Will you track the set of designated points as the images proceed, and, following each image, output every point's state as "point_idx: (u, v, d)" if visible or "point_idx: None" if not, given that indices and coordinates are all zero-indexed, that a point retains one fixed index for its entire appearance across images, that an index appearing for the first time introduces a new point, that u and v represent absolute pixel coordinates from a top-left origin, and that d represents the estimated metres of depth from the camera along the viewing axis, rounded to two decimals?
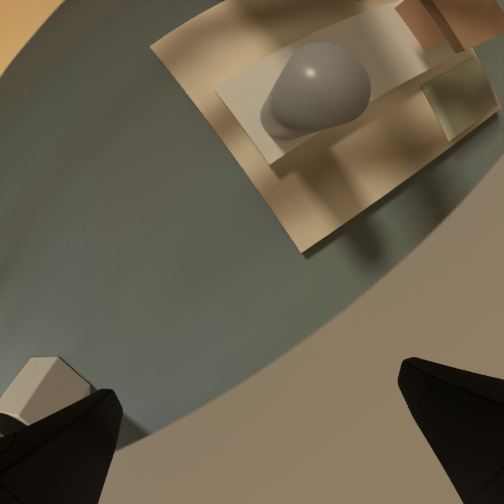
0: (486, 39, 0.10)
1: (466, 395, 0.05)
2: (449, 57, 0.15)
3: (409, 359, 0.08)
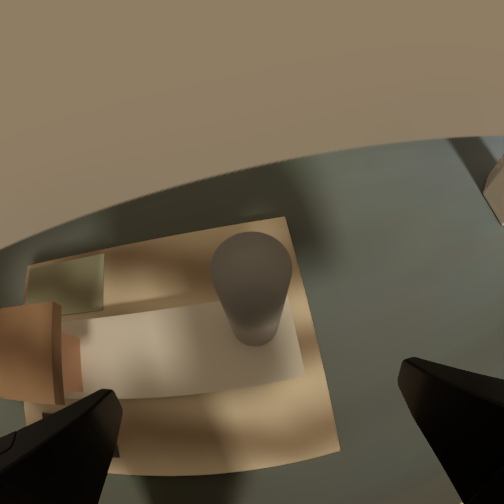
0: (17, 307, 0.14)
1: (466, 395, 0.05)
2: None
3: (409, 359, 0.08)
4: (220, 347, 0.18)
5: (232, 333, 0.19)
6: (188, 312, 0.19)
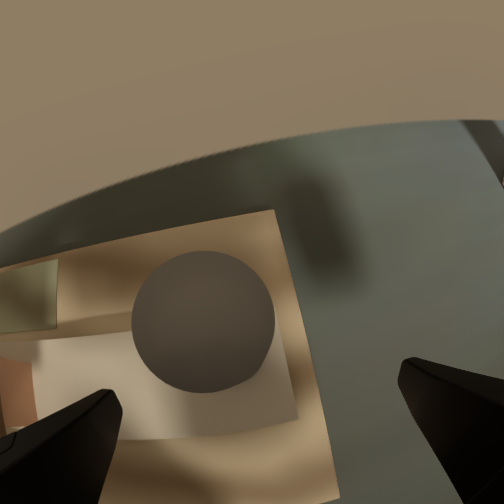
0: None
1: (466, 395, 0.05)
2: (8, 343, 0.14)
3: (409, 359, 0.08)
4: None
5: None
6: None
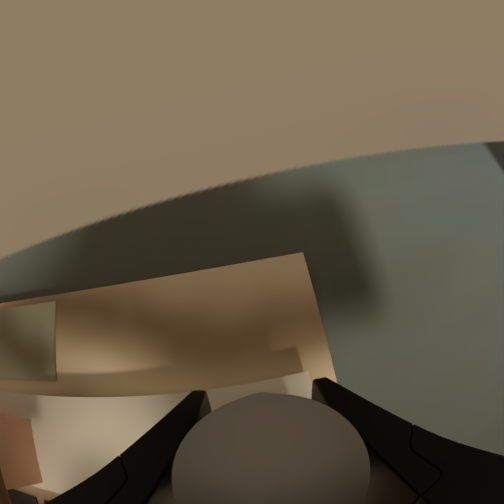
0: None
1: None
2: (3, 393, 0.11)
3: (318, 379, 0.07)
4: None
5: None
6: (165, 405, 0.12)
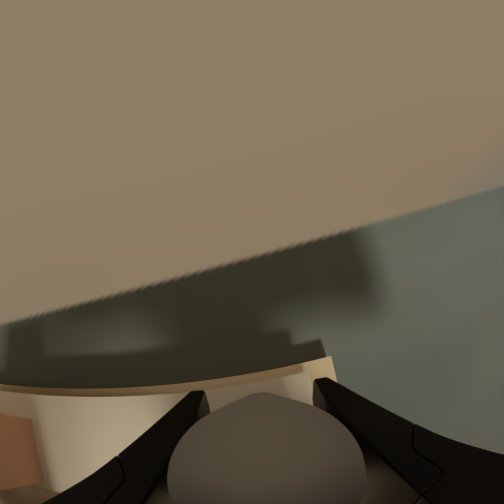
0: None
1: (355, 434, 0.05)
2: (4, 393, 0.11)
3: (319, 379, 0.07)
4: None
5: None
6: (165, 404, 0.12)
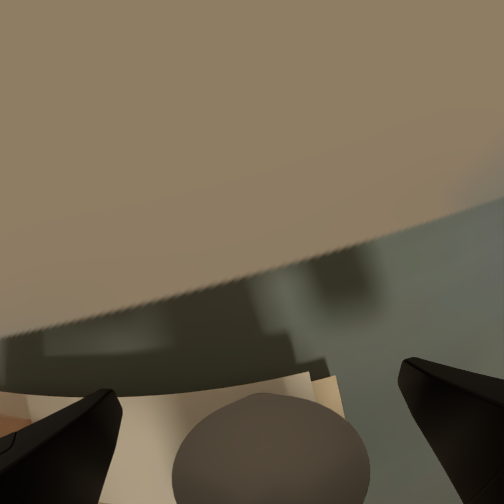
0: None
1: (466, 395, 0.05)
2: (4, 393, 0.11)
3: (409, 359, 0.08)
4: None
5: None
6: (165, 405, 0.12)
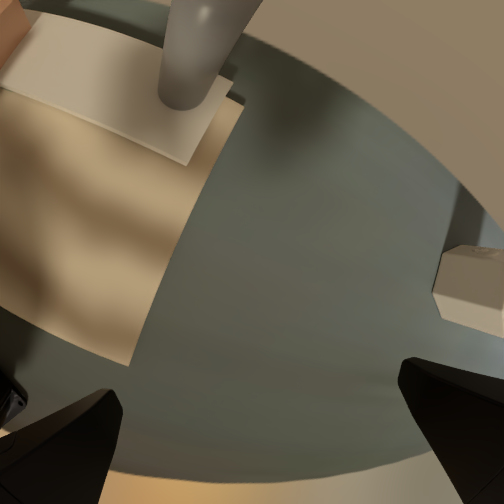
0: None
1: (466, 395, 0.05)
2: (23, 10, 0.10)
3: (409, 359, 0.08)
4: (137, 87, 0.14)
5: (157, 83, 0.15)
6: (136, 46, 0.14)
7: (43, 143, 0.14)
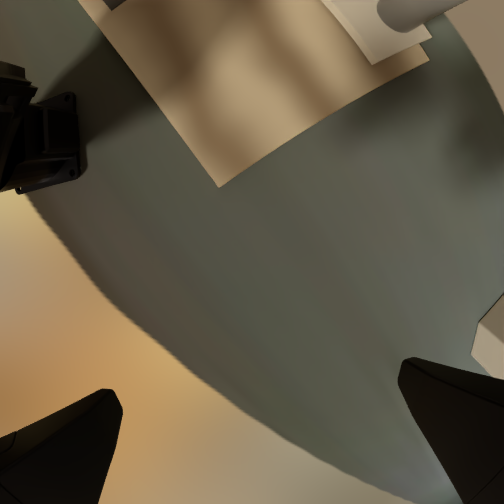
0: None
1: (466, 395, 0.05)
2: None
3: (409, 359, 0.08)
4: None
5: None
6: None
7: None
